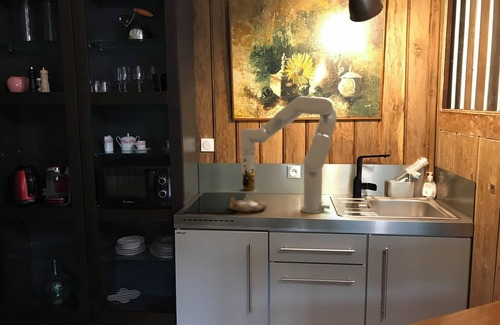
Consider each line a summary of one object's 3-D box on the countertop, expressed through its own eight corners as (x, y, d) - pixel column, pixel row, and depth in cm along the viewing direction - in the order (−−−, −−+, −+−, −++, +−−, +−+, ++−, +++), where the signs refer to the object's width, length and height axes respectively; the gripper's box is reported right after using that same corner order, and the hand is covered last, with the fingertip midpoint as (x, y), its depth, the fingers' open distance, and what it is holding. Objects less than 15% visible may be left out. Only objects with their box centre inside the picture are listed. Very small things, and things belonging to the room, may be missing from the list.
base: (261, 207, 232) (261, 205, 232) (255, 213, 221) (255, 210, 220) (241, 206, 235) (241, 204, 235) (234, 211, 224) (234, 209, 224)
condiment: (257, 190, 225) (257, 168, 224) (244, 192, 221) (244, 170, 219) (250, 188, 231) (250, 167, 230) (237, 190, 227) (236, 168, 225)
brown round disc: (258, 201, 241) (257, 191, 240) (272, 209, 222) (272, 198, 221) (224, 204, 233) (224, 194, 233) (237, 213, 215) (236, 202, 214)
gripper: (249, 153, 214) (249, 188, 217) (258, 150, 231) (258, 182, 233) (235, 153, 217) (235, 187, 219) (246, 149, 233) (246, 181, 235)
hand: (247, 184), depth 226 cm, fingers closed on condiment, 6 cm apart
